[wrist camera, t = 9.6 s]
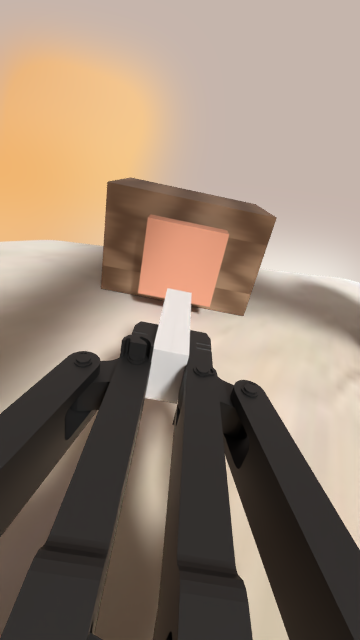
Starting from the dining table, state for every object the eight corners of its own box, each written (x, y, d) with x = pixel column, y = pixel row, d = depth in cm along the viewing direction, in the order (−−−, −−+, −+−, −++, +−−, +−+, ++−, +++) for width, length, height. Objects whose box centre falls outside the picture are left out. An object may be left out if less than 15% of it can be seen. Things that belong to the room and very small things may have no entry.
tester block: (232, 281, 46) (255, 204, 41) (243, 316, 36) (276, 217, 30) (122, 260, 45) (130, 177, 40) (100, 288, 35) (107, 181, 29)
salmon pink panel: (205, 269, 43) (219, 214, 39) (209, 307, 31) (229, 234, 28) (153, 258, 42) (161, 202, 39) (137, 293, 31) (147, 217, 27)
